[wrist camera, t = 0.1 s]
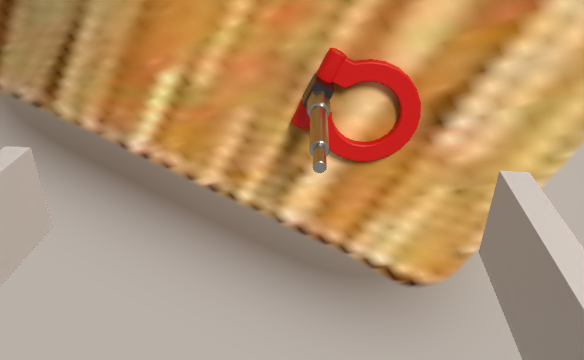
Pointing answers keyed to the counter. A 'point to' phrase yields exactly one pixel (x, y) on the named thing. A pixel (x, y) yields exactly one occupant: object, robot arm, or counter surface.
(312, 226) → the counter surface
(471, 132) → the counter surface
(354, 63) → the tow hook
